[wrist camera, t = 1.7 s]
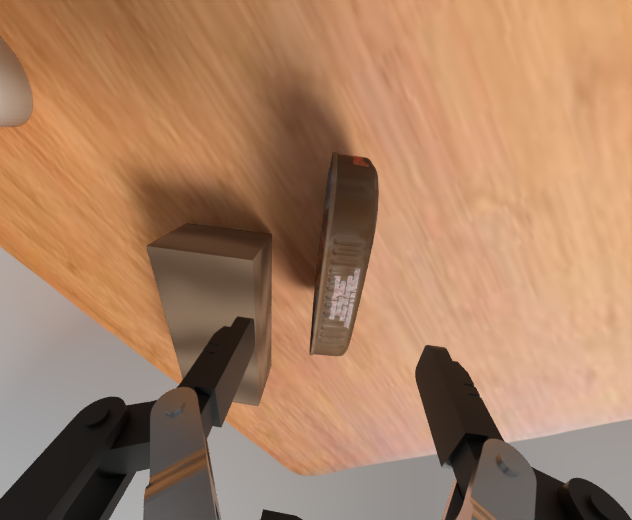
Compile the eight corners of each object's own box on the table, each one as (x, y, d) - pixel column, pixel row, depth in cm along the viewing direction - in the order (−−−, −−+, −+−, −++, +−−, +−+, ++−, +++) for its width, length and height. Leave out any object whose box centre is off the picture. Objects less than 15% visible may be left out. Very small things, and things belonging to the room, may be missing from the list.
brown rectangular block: (186, 223, 22) (146, 246, 17) (271, 234, 21) (252, 260, 17) (209, 356, 30) (187, 394, 26) (271, 366, 30) (258, 406, 25)
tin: (331, 147, 18) (322, 157, 10) (373, 153, 17) (395, 166, 10) (312, 305, 25) (298, 378, 17) (342, 310, 25) (341, 385, 17)
